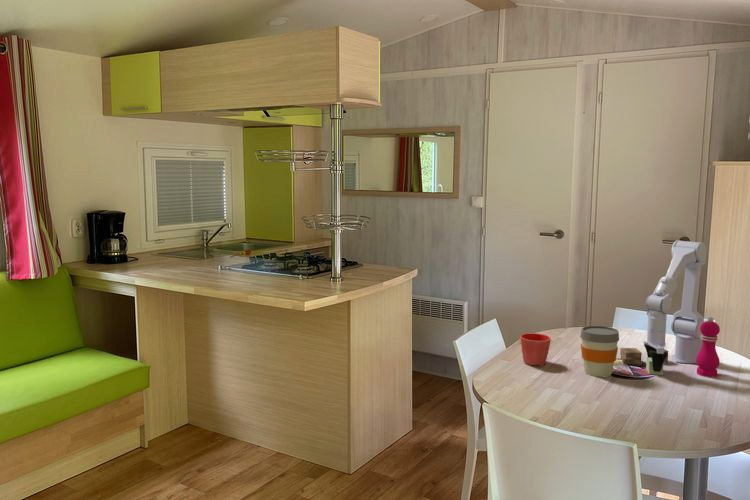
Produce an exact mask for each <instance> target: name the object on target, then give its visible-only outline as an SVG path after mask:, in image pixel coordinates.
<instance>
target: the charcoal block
mask: <svg viewBox="0 0 750 500" xmlns="http://www.w3.org/2000/svg"><path fill="white" fill-rule="evenodd" d="M664 352H667V353H668V355H667V357H666V358H665V360H664V363H663V364H667V363H669V362H668V360H669V350H667V349H665V348H664Z"/></svg>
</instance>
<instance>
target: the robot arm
mask: <svg viewBox="0 0 750 500" xmlns="http://www.w3.org/2000/svg"><path fill="white" fill-rule="evenodd" d="M707 253H708V248H707V246H706V244H705V243H704V242H702V241H700V242H697V241H688V240H687V241H686V240H680V239H677V240H675V241H674V242H673V243H672V246H671V257H672V258H671V261H670V263H669V266H668V269H667V272H666V274H665V276H662V277H661V278H660V279H659V281H658V282H657V285H656V287H655V289H654V290H653V293H652V294H651V295H648V296H647V298H646V299H645V303H644V305H645V306H644V307H645V310H646V315H647V333H646V340H643V341H642V343H643V346H644V348H645V351H646V355H647V357H648V358H652V365H653V371H654V372H660V371H661V368H662V365H663V366H664V363H663V362H664V360H665V358H666V357H667V355H668V356H669V352H668V353H667V352H664V349H665V347H666V345H667V344H666V333H667V315H668V313H669V311H670V310H671V307H672V302H673V299H672V297H673V295H674V292H675V291H676V289H677V287H678V282H677V279H678V278H679V276H680V275H681V273H682V271H683V269H684V268H685V269H684V281H683V288H682V289H683V290H682V296H681V297H682V298H681V307H680V309H679V310H677V311H676V312H674V313H673V318H672V320H671V323H670V329H671V332H672V333H673V335H674V336H675V346H674V347H675V349H674V354H671V357H672V359H673V360H674V361H675V362H676V363H679V364H681V363H682V364H696V365H697V363H696V357H697V355H698V353H699V351H700V350H701V347H702V339H701V335H702V333H701V331H700V325H701V324H702V323H703V322H705V317H704V316H703V315H702V314H700V312H698V310H697V309H698V301H699V290H700V284H701V283H700V282H701V274H702V273H701V272H702V266H704V265H706V261H707Z"/></svg>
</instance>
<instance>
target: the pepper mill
mask: <svg viewBox="0 0 750 500" xmlns="http://www.w3.org/2000/svg"><path fill="white" fill-rule="evenodd" d="M700 331H701V333H702V335H701V339H702V347H701V350H700V351H699V353H698V355H697V357H696V363H697V364H696V363H695V364H696V365H697V366H698V367H696V374H697V375H699V376H701V377H706V378H716V377H718V370H717V369H718V368H719V366H720V365H721V363H720V362H721V361H720V360H721V359H720V357H719V355H718V353H717V350H716V349H717V347H716V343H717V341H718V338H719V337H718V335H719V334H720V331H721V327H720V325H719V324H718V323H717V322H715V321H714V317H712V316H708V317H707V320H704V322H703V323H702V324H701V325H700Z"/></svg>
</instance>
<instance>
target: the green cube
mask: <svg viewBox="0 0 750 500" xmlns="http://www.w3.org/2000/svg"><path fill="white" fill-rule="evenodd" d="M664 364H665V363H664V362H663V365H662V368H661V371H660V372H654V371H653V365H652V358H648V356H647V357H646V363H645V370H646V372H647V371H648V372H647V373H648V375H664Z"/></svg>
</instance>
